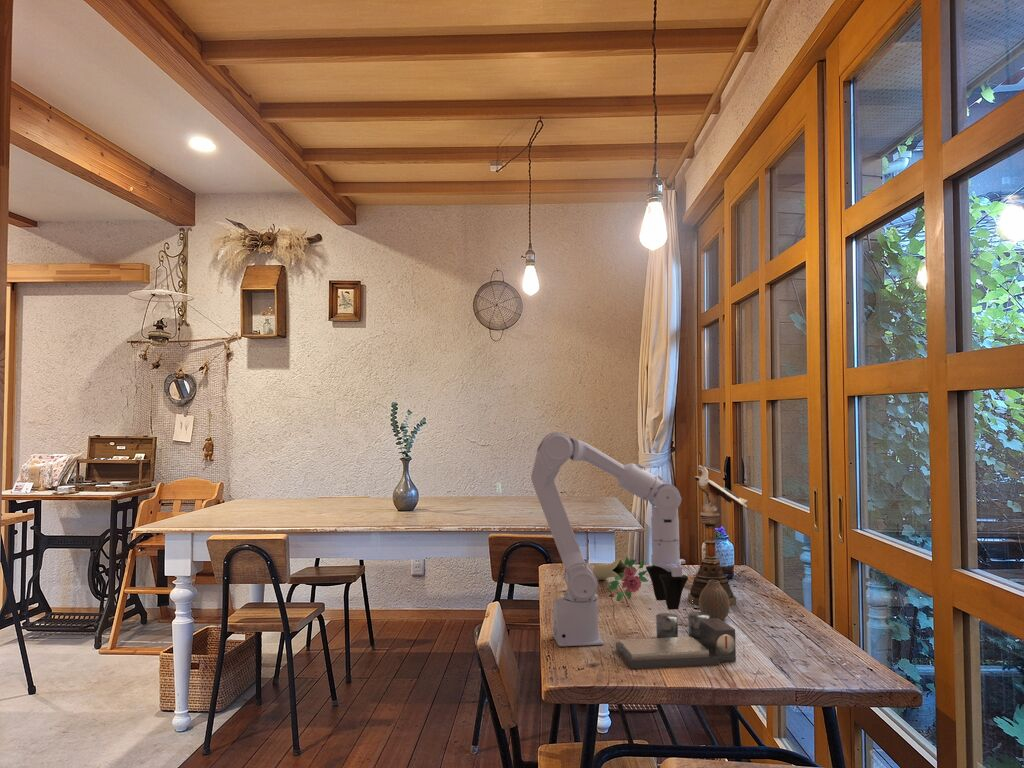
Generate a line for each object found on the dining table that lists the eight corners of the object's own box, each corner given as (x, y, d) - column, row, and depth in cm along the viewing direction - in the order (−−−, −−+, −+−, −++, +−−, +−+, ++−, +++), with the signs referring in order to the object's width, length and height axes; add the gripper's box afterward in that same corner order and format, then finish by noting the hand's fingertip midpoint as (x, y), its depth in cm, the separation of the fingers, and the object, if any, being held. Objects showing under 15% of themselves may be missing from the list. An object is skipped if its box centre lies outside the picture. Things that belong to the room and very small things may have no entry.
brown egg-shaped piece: (709, 624, 163) (708, 584, 164) (693, 616, 170) (692, 578, 170) (736, 621, 165) (735, 582, 166) (719, 614, 172) (718, 576, 172)
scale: (630, 669, 134) (630, 636, 134) (615, 650, 145) (615, 620, 145) (739, 664, 136) (738, 631, 137) (716, 646, 147) (715, 616, 148)
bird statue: (744, 594, 191) (741, 461, 193) (761, 607, 178) (757, 464, 180) (681, 594, 191) (679, 462, 193) (694, 607, 178) (691, 465, 180)
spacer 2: (693, 642, 150) (692, 617, 150) (685, 636, 155) (685, 612, 155) (713, 641, 151) (712, 617, 151) (705, 635, 155) (704, 611, 155)
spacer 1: (660, 643, 149) (660, 619, 150) (653, 637, 154) (653, 613, 154) (681, 642, 150) (680, 618, 150) (673, 636, 154) (673, 612, 154)
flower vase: (614, 607, 208) (658, 609, 175) (574, 595, 207) (610, 596, 174) (623, 566, 212) (667, 561, 179) (583, 554, 211) (620, 547, 178)
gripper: (696, 544, 146) (697, 612, 145) (672, 533, 161) (673, 595, 160) (662, 545, 145) (663, 614, 145) (641, 534, 160) (642, 596, 159)
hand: (666, 604), depth 152 cm, fingers open, 7 cm apart
